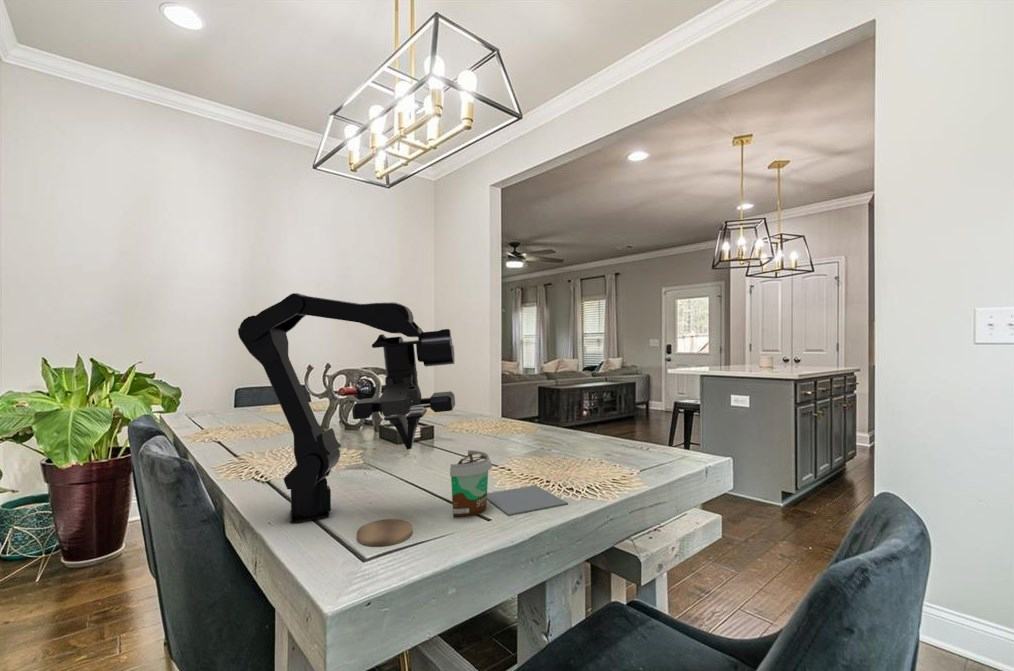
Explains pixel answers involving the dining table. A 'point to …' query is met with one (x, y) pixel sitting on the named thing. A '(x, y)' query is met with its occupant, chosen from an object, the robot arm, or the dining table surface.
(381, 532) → the walnut coaster
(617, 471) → the dining table surface
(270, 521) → the dining table surface
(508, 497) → the rubber mat
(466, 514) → the food container
